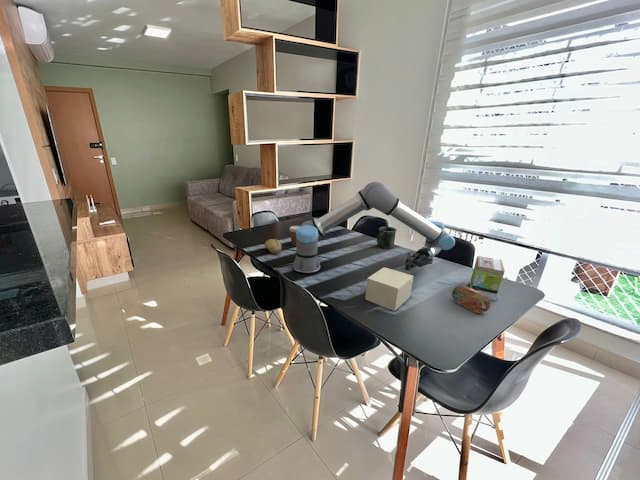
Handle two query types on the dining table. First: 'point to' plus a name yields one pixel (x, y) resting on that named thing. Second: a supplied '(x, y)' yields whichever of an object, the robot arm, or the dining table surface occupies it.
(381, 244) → the mug
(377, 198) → the robot arm
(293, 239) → the disposable coffee cup
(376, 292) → the cream foam cube
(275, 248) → the bread roll
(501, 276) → the tea box
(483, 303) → the orange brown snack packet
